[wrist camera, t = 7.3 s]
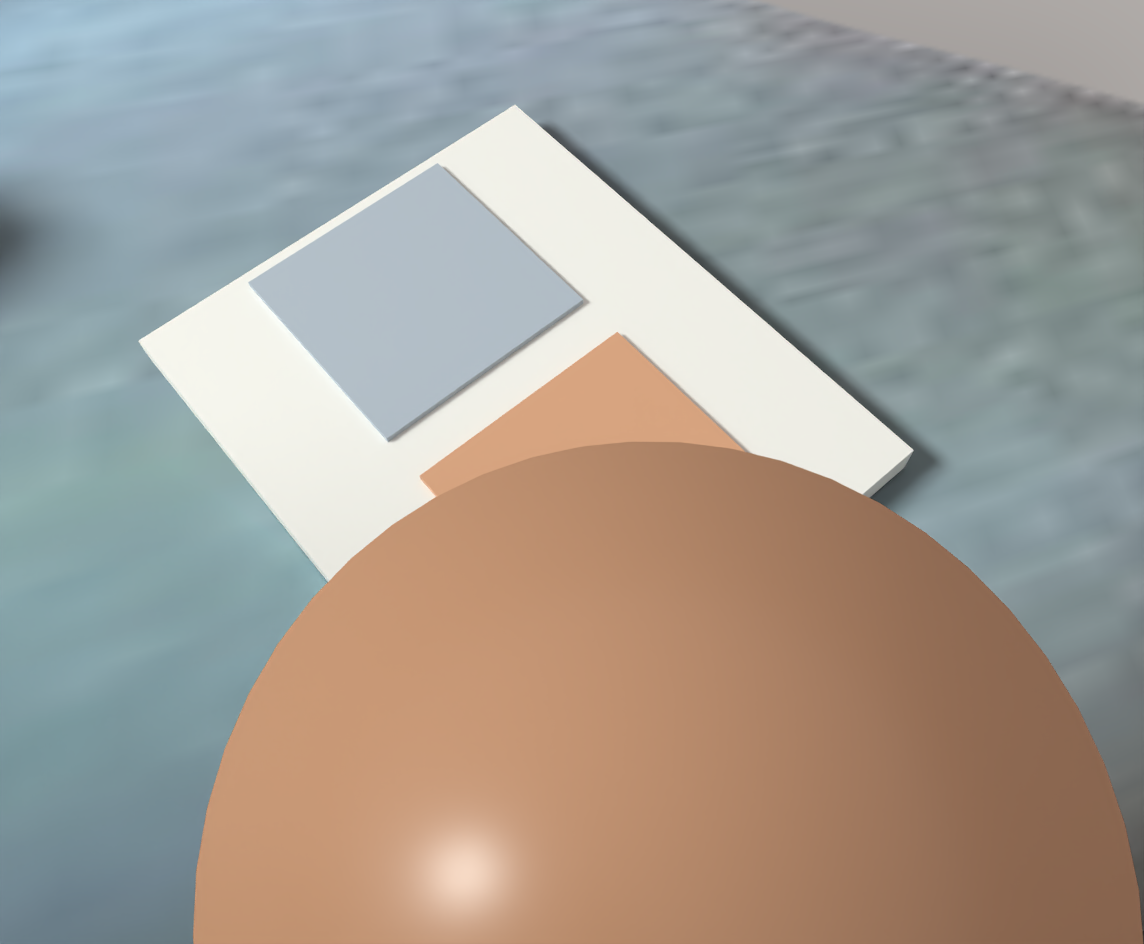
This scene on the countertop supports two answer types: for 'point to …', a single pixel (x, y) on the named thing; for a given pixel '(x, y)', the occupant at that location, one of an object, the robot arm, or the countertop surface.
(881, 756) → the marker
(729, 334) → the picture board
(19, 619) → the countertop surface
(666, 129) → the countertop surface
